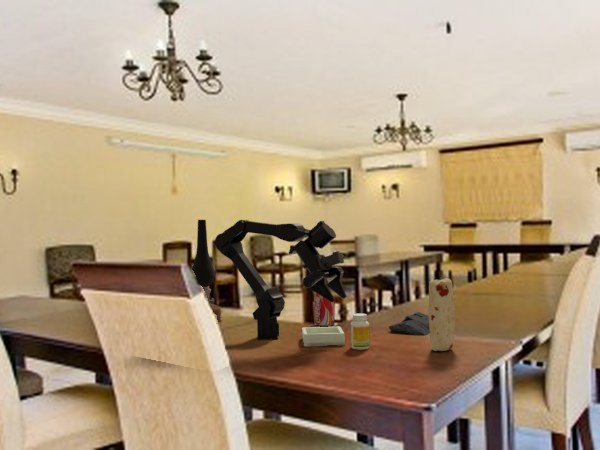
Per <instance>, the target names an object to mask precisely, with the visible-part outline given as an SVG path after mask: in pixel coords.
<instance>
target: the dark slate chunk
mask: <svg viewBox="0 0 600 450" xmlns="http://www.w3.org/2000/svg"><path fill="white" fill-rule="evenodd" d="M388 328H389V330H390V331H391V332H394V333H403V334H406V333H407V335H412V334H414V336H427V335H430V328H429V315H428V314H425V313H423V312H419V311H418V312H416V313H413V314H410V315H409V314H408V315H406V316H405V318H404V319H403V320H402V321H400V322H396V323H394V324H391V325H389V326H388Z"/></svg>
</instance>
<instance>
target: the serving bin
mask: <svg viewBox="0 0 600 450" xmlns="http://www.w3.org/2000/svg"><path fill="white" fill-rule="evenodd" d="M345 336H346V334H345V332H344V331H343V329H342V327H341V326H339V325H337V326H328V327H320V326H312V327H311V326H307V327H306V326H304V327H302V328H301V339H303V340H302V343H304V344H303V346H304V347H325V346H326V347H328V346H327V345H337V346H345V345H346V344H345V343H346V342H345V341H346V339H345Z"/></svg>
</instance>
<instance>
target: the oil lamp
mask: <svg viewBox="0 0 600 450" xmlns="http://www.w3.org/2000/svg"><path fill="white" fill-rule="evenodd" d="M207 231H208V230H207V221H206V219H197V233H196V235H197V239H196V240H197V242H196V253H195V258H194V260H193V265H192V267H191V269H192V270H193V271H194V273H195V275H196V277H197V280H198V282H199V284H200V285H201V286H202V287H203V289H204V291H205V293H206V295H207V298H208V301H209V303H210V302H211V303H210V305H211V307H212V310H213V312H214V313H215V314H216V315H217V320H218V322H219V323H218V324H220V323H222V320H223V319H222V317H221V307H220V306H218V305H216V304H215V303H214V302H215V298H213V297H211V299H210V298H209V296H210V294H211V291H212V289H211V288H210V287H209V286H210V285H211V284H212V283H213V282H214V281H215V278H216V272H215V267H214V265H213V263H212V260H211V258H210V257H211V256H210V254H209V246H208V233H207Z"/></svg>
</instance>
